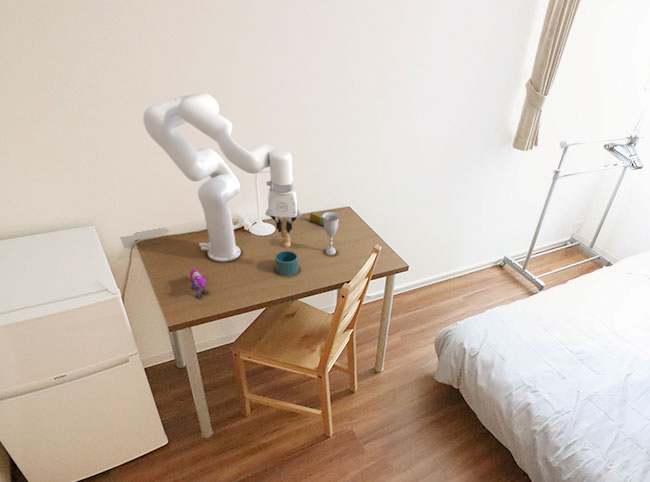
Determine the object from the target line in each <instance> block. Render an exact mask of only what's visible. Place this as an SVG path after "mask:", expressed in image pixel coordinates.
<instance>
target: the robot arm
mask: <svg viewBox="0 0 650 482" xmlns="http://www.w3.org/2000/svg"><path fill="white" fill-rule="evenodd" d="M142 118H143V119H142V120H143V125H144V129H145V131H146V132H147V133H148V135H149V137H150V138H151V139H152V140H153V141H154V142H155V143H156V144H157V145H158V146H159V147H160V148H161V149H162V150H163V151H164V152H165V153H166V154H167V156H168V157H169V158H170V159H171V160H172V161H173V163H174V164H175V165H176V166H177V168H178V169H179V170H180V171H181V173H182V174H183V175H184V176H185V177H186V178H187V179H188V180H189V181H191V182H199V181H202V180H203V179H206V178H207V177H210V179H208V180H207V181H205V182H203V183H202V184H201V185H200V186H199V187H198V190H197V196H198V200H199V202H200V205H201V207H202V210H203V214H204V219H205V224H206V229H207V236H208V241H209V242H199V244H198V245H199V248H200V249H201V251H207V257H208V258H209V259H211V260H213V261H214V262H215V261H216V262H223V263H225V262H231V261H235V260H236V259H238V258H239V257H240V256H241V253H242V252H241V248H240V247H239V246H237V243H236V238H235V231H234V230H235V229H234V223H233V217H232V212H231V209H229V207H228V206H227V202H229V201H230V200H231V199H233V198H235V197H236V196H237V195H238V194H239V193H240V192H241V184H240V181H239V179H238V177H237V176H236V175H235V173H234V172H233V171H232V169H230V167H229V166H228V164H227V163H226V162H225V160H224V159H223V158H222V157H221V155H220V154H219V153H217V152H216V150H214V149H212V148H210V147H199V148H198V149H195V148H194V147H193V146H192V145H191V143H190V142H189V141H188V139H186V138H185V137H184V136H183V135H181V134H180V133H178V132H177V131H175V130H174V128H177V127H179V126H182V125H184V124H189V125H191V126H192V127H194V128H195V129H196V130H198V131H200V132H201V133H203V134H204V135H206V136H207V137H208V138H210V139H212V140H213V141H214V142H216V144H217V145H218V147H219V149H220V151H221V152H222V154H223V155H224V157H225V158H226V159H227V161H229V162H230V163H231V164H233V165H234V166H236V167H237V168H238V169H240V170H242V171H243V172H246V173H248V174H253V175H254V174H255V175H256V174H258V173H260V172H261V171H263V170H264V169H266V168H269V173H270V174H269V176H270V180H268V181H266V186H268V187H269V189H268V197H267V209H266V211H265V215H266V216H267V217H269V218H271V219H272V220H273V221H274V223H275V225H276V227H275V228H276V230H278V233H281V227H280V220H281V218H287V220H288V223H287V227H288V234H290V233H291V231H292V230H293V223H294V222H295V221H296V220H298V219H300V218H302V213H301V211H300V209H299V207H298V206H299V205H298V198H297V193H296V189H295V188H294V178H293V156H292V154H291V152H289V151H288V150H285V149H278V148H276V147H274V146H272V145H270V144H268V143H259V144H257V145H255V146H253V147H251V148H249V149H248V150H247V149H246V148H243V146H241V145H239V144H238V143H237V142H236V141H235V140H234V139H233V138H232V136H231V135H232V133H233V123H232V122H231V121H230V120H229V119H227V118H226V117H224V116H223V115H221V114H220V106H219V102H218V101H217V99H215V98H214V96H212V95H210V94H209V93H205V92H199V93H195V94H189V95H188V94H187V95H184V96H177V97H173V98H169V99H166V100H163V101H160V102H156V103H154V104H152V105H150V106H149V107H147V108H146V109H145V111H144V113H143V117H142Z"/></svg>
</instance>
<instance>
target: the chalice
mask: <svg viewBox="0 0 650 482" xmlns="http://www.w3.org/2000/svg"><path fill="white" fill-rule="evenodd" d="M322 215H323V218H324V226H323V229H324V231H325V233H326V234H327V236H328V237H329V239H328V240H329V242H328V244H329V246H327V248H326V249H325V253H326V254H327V255H335V254H336V253H337V250H336V248H335V247H334V246H333V244H334V243H333V237H334V236H335V234H336V232H337V230H338V229H339V218H340V215H339V213H337V212H334V211H327V212H325V213H323V214H322Z"/></svg>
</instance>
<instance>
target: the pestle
mask: <svg viewBox="0 0 650 482" xmlns="http://www.w3.org/2000/svg"><path fill="white" fill-rule="evenodd" d="M287 223H288V218H280V227H281V232H280V235H279V239H278V240H279V246H280V247H281V248H283V249H287V248H290V247H291V235H290V234H289V233H288V227H287Z"/></svg>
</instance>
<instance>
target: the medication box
mask: <svg viewBox="0 0 650 482" xmlns="http://www.w3.org/2000/svg"><path fill="white" fill-rule="evenodd" d="M309 221H311V222H312V223H316V224H318V225H320V226H323V227H324V218H323V214H320V213H317V212H316V211H311V212H310V213H309Z"/></svg>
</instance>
